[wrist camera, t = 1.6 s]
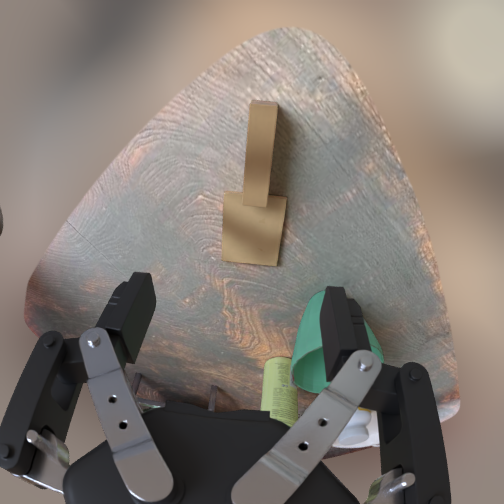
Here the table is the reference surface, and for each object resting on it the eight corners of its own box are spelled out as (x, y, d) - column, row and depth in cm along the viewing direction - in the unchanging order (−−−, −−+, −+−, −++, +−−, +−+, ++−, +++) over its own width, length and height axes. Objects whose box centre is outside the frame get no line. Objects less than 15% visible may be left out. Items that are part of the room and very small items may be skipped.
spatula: (230, 98, 24) (225, 101, 22) (299, 104, 24) (302, 109, 22) (222, 257, 34) (218, 275, 31) (276, 263, 34) (276, 280, 31)
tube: (261, 374, 46) (255, 489, 30) (258, 356, 44) (250, 482, 27) (297, 372, 46) (299, 488, 30) (296, 354, 43) (300, 481, 27)
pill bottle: (320, 387, 48) (325, 447, 39) (337, 367, 45) (345, 432, 35) (352, 390, 49) (360, 447, 39) (370, 370, 45) (382, 432, 36)
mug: (271, 305, 37) (270, 373, 29) (332, 258, 33) (349, 327, 25) (341, 352, 42) (350, 411, 34) (396, 318, 38) (416, 377, 30)
